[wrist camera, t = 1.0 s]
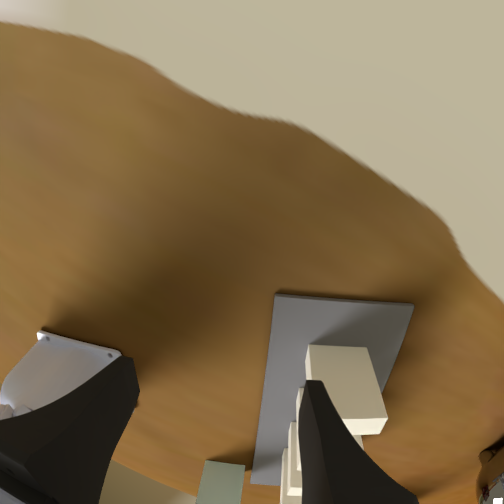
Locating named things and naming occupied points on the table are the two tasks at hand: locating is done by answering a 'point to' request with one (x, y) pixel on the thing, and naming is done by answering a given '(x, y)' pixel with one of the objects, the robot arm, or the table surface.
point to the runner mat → (294, 354)
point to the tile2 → (286, 501)
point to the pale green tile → (221, 483)
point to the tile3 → (293, 464)
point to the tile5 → (349, 385)
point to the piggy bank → (491, 478)
